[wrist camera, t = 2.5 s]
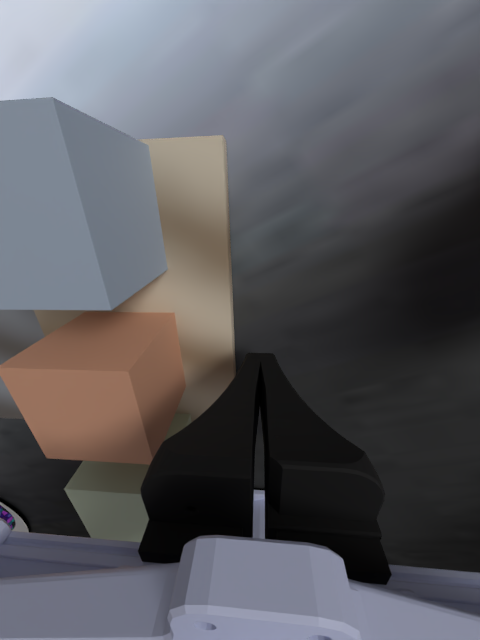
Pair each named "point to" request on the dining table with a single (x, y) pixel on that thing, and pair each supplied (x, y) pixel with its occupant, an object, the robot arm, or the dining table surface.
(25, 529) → the patterned fedora hat
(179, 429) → the sage block
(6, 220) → the blue block
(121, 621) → the robot arm
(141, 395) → the terracotta block
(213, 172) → the board
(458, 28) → the dining table surface
